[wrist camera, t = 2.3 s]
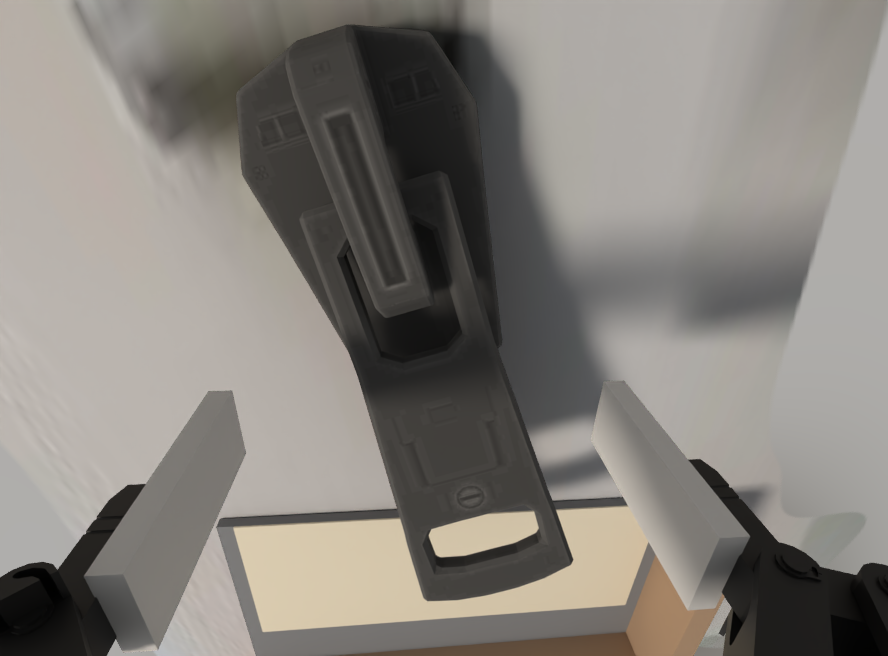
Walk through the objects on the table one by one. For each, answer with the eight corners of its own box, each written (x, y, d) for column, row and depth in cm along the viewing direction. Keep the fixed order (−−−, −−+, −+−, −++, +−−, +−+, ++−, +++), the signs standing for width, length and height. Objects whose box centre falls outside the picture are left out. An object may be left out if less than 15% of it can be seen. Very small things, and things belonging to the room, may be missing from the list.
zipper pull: (417, 616, 23) (118, 66, 11) (413, 509, 28) (217, 75, 17) (589, 573, 22) (473, -50, 10) (549, 473, 28) (446, 2, 16)
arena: (219, 519, 27) (185, 601, 23) (691, 494, 30) (742, 563, 25) (263, 663, 35) (243, 746, 30) (635, 633, 38) (667, 705, 33)
